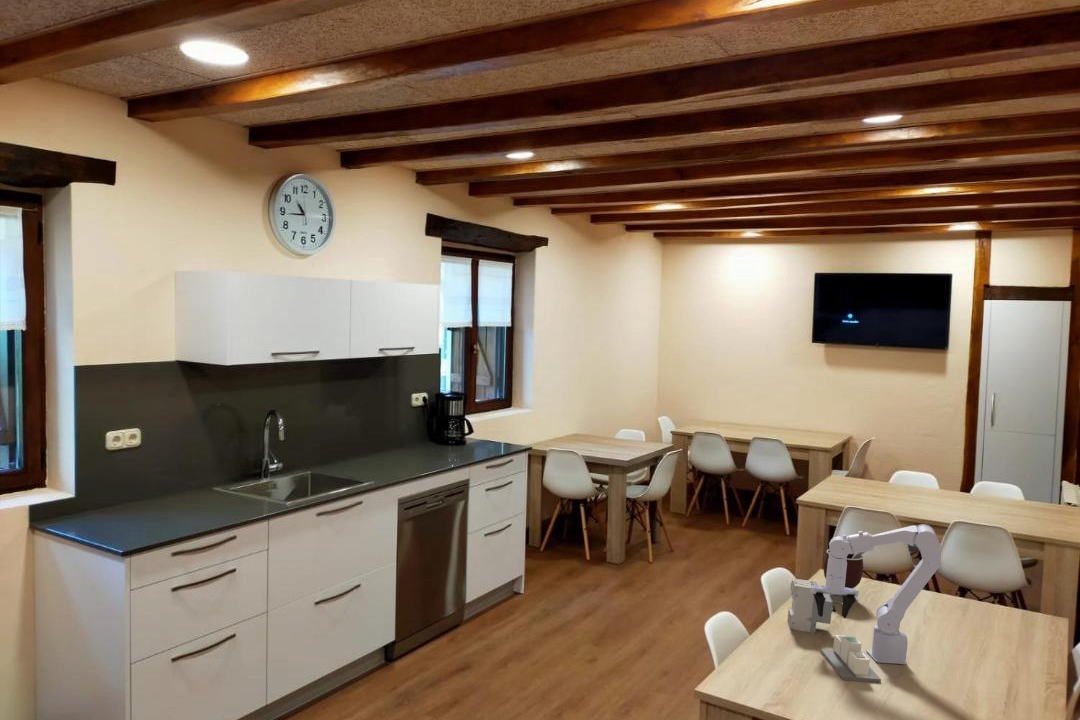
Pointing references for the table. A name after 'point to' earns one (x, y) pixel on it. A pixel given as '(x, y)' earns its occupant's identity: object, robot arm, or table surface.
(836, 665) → the board
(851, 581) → the mate gourd
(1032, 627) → the table surface
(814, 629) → the circuit breaker
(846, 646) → the block
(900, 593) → the robot arm
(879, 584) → the table surface
